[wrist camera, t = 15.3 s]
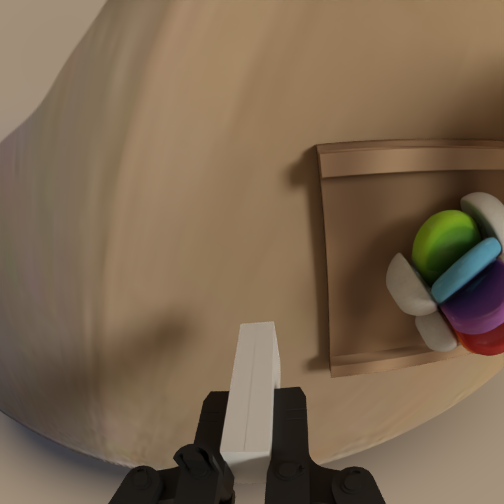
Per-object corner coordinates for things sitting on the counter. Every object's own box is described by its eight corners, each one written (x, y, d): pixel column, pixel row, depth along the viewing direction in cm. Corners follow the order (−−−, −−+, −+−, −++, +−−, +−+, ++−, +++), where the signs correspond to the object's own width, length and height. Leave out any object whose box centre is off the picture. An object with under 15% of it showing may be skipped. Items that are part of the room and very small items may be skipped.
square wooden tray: (329, 363, 23) (333, 400, 20) (315, 144, 16) (323, 153, 13) (500, 332, 20) (519, 360, 17) (533, 143, 14) (568, 155, 10)
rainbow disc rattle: (427, 339, 20) (459, 414, 14) (361, 248, 18) (395, 326, 11) (512, 272, 17) (566, 330, 11) (466, 163, 15) (545, 200, 8)
